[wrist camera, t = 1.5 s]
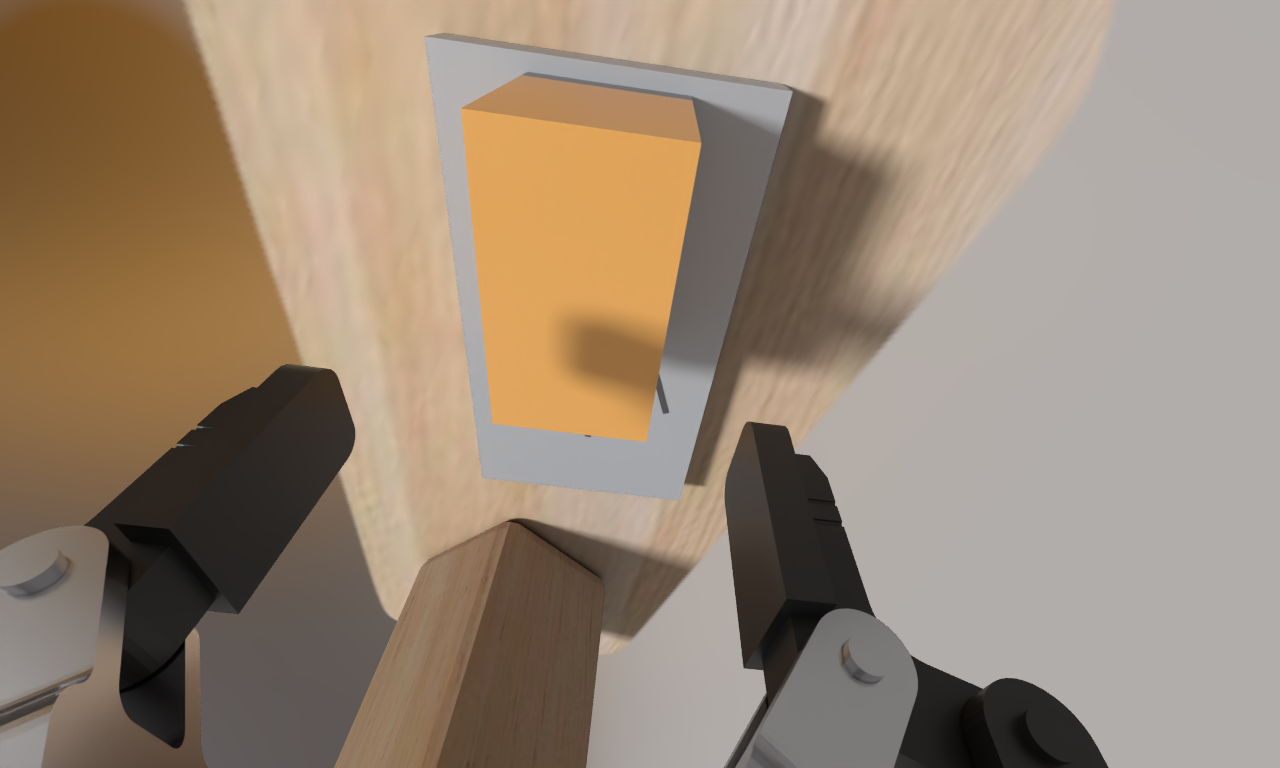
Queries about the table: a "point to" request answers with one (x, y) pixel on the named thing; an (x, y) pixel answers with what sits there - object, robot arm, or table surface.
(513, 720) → the block
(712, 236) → the board
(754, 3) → the table surface
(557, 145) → the block
